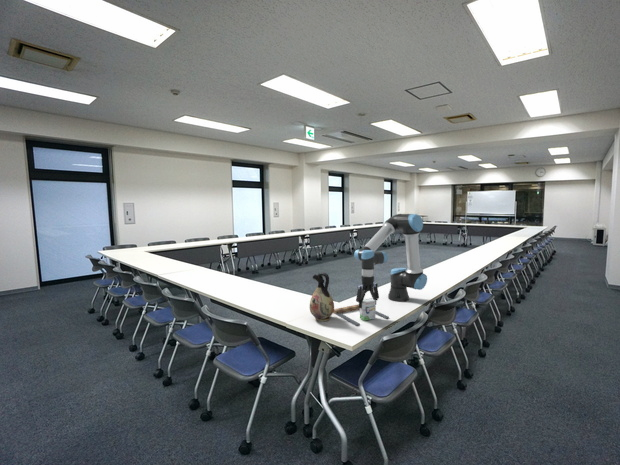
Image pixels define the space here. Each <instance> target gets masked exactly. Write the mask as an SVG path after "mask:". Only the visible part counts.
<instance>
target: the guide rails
mask: <svg viewBox="0 0 620 465" xmlns="http://www.w3.org/2000/svg"><path fill="white" fill-rule="evenodd" d="M376 315H377V316H379V317H380V318H383V319H385V320H387V319H390V317H389V316H388V315H386V314H384V313H382V312H379V311H377V310H376V311H375V316H376ZM335 316H338V317H339V318H342V319H343V320H345V322H348V323H350V324H352V325H353V326H355V327H358V326H360V325H361V324H360V322H357V321H356V320H354V319H352V318H350V317H349V316H347V315H345V314H344V313H339V312H338V313H336V314H335Z"/></svg>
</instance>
